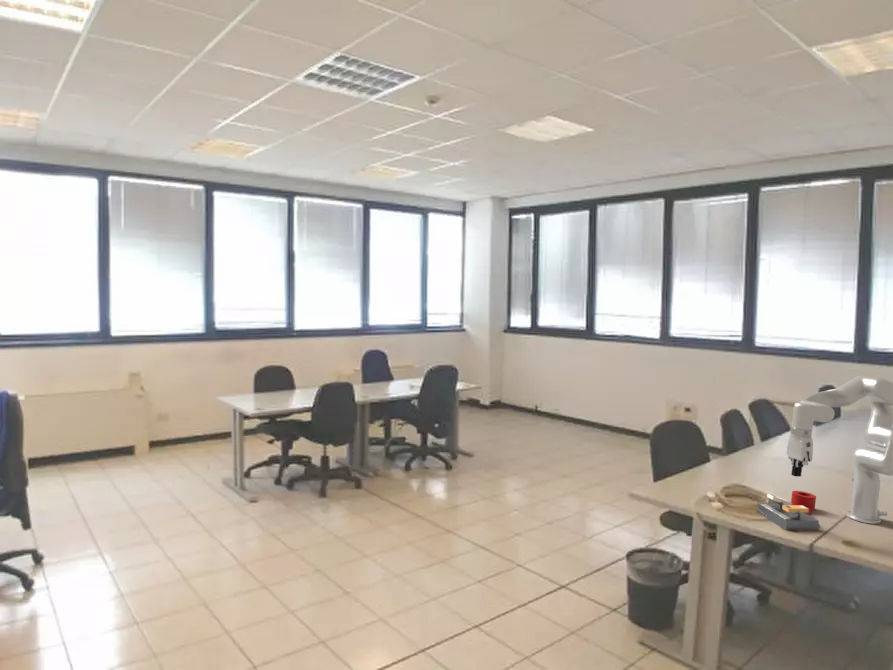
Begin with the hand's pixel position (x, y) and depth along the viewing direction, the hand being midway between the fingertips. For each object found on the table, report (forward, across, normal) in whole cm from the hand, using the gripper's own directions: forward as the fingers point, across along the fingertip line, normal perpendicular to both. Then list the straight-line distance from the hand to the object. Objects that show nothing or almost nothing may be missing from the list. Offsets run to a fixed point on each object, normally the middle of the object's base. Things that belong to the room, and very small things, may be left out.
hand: (796, 475), depth 251 cm
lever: (+21, +17, -17) cm, 32 cm away
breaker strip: (+21, +5, -2) cm, 22 cm away
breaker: (+15, +11, -2) cm, 19 cm away
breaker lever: (+15, 0, -2) cm, 15 cm away
